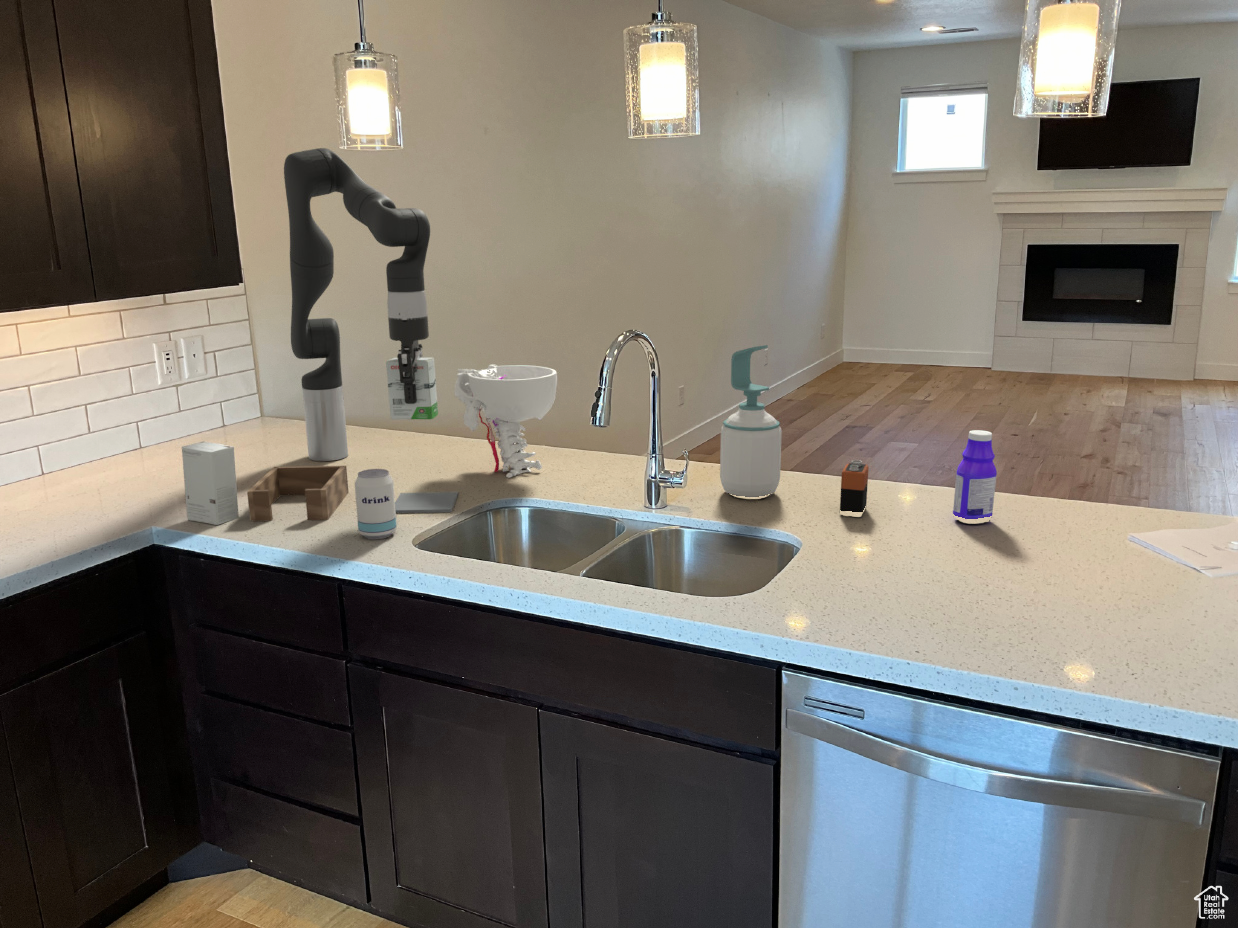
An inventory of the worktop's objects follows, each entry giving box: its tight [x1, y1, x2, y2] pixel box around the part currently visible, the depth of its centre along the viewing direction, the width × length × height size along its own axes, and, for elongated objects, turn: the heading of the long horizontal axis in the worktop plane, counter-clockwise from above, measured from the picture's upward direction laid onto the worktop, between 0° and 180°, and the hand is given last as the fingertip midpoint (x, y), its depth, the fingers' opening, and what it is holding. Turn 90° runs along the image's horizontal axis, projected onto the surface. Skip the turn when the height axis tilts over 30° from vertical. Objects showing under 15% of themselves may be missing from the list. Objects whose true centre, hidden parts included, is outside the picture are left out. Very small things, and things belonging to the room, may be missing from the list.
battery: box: [839, 459, 869, 512], centre depth 194 cm, size 4×7×10 cm, turn 159°
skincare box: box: [181, 441, 239, 526], centre depth 194 cm, size 8×6×15 cm
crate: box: [246, 465, 349, 522], centre depth 202 cm, size 18×15×6 cm
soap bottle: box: [719, 344, 783, 497], centre depth 204 cm, size 12×12×31 cm
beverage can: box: [354, 468, 398, 540], centre depth 184 cm, size 7×7×12 cm
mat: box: [395, 491, 459, 514], centre depth 204 cm, size 12×12×1 cm
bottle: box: [952, 429, 997, 519], centre depth 187 cm, size 7×6×17 cm
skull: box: [453, 364, 558, 478], centre depth 225 cm, size 25×19×23 cm
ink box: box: [385, 357, 439, 420], centre depth 197 cm, size 9×5×12 cm, turn 84°
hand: (413, 400), depth 198 cm, fingers closed on ink box, 5 cm apart
